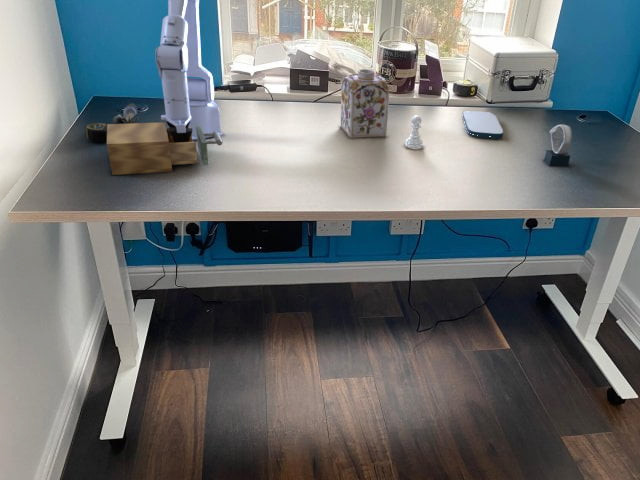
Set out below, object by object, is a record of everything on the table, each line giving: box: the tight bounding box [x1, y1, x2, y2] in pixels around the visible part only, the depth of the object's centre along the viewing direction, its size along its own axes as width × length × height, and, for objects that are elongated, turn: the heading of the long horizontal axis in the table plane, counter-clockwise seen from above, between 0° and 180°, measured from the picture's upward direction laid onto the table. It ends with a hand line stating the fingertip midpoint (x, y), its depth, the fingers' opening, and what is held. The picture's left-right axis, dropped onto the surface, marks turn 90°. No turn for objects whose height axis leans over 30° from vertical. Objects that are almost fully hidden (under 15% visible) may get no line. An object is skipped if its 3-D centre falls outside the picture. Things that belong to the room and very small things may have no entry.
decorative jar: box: [340, 68, 390, 139], centre depth 179 cm, size 12×12×18 cm
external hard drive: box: [461, 110, 505, 140], centre depth 196 cm, size 24×12×2 cm, turn 0°
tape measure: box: [84, 122, 108, 143], centre depth 160 cm, size 7×7×4 cm
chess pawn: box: [404, 115, 424, 150], centre depth 173 cm, size 5×5×9 cm
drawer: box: [166, 125, 223, 166], centre depth 152 cm, size 17×13×6 cm
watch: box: [543, 123, 572, 167], centre depth 170 cm, size 6×8×11 cm
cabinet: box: [106, 121, 173, 176], centre depth 148 cm, size 14×15×8 cm
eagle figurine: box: [112, 103, 139, 124], centre depth 168 cm, size 8×7×9 cm
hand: (182, 151), depth 152 cm, fingers closed on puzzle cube, 4 cm apart
